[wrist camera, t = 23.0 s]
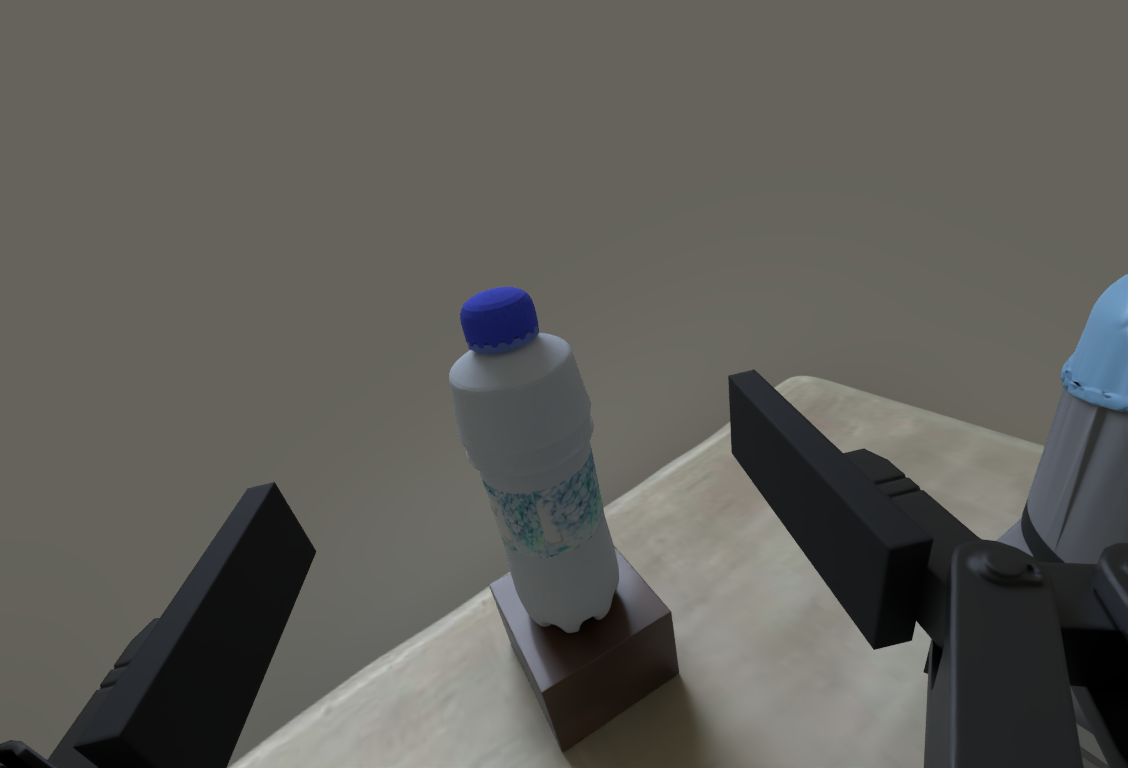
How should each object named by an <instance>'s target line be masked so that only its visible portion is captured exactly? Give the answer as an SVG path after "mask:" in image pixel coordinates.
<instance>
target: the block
mask: <svg viewBox="0 0 1128 768" xmlns="http://www.w3.org/2000/svg"><path fill="white" fill-rule="evenodd" d="M614 548H615V553H616V557H617V562H618V568H619V582H618V586H617V589H616V590H615V592H614V595H613V598H612V602H611V607H610V609H609V612H608V613H607V614H606V616H605V617H604V618H602V619H601V620H597V619H595V618H594V617H593V616H592V617H591V618H589V619H587V620H585V621H583V622H582V623H581V625H580V629H579V631H578V632H573V633H567V632H565V631H564V630H563V629H562V628H560V627H559V626H557V625H554V624H551V625H550V626H546V627H543V626H540V625H539V624H537V623H536V622H535V621H534V620H533V619H532V618H531V617H530V616H529V614H528V613H527V611H526V610H525V608H524V606H523V604H522V602H521V601H520V599H519V597H518V594H517V592H516V590H515V587H514V583H513V580H512V576H511V573H510V574H508V575H506V576H504V577H502V578H501V579H499V580H497V581H495V582H493V583H491V584H489V586H490V589H491V592H492V594H493V597H494V600H495V602H496V605H497V608H498V610H499V613H500V616H501V618H502V621H503V624H504V626H505V629H506V632H507V634H508V637H509V640H510V642H511V644H512V646H513V648H514V651H515V653H516V655H517V657H518V659H519V661H520V663H521V666H522V668H523V670H524V672H525V674H526V676H527V678H528V681H529V683H530V685H531V687H532V689H533V691H534V693H535V695H536V698H537V700H538V702H539V704H540V706H541V708H542V710H543V713H544V715H545V717H546V719H547V721H548V723H549V725H550V728H551V730H552V732H553V734H554V736H555V738H556V740H557V743H558V745H559V747H560V749H561V751H562V752H564V751H566V750H567V749H569V748H570V747H572V746H573V745H575V744H576V743H577V742H579V741H580V740H582V739H583V738H585V737H586V736H588V735H589V734H591V733H592V732H594V731H595V730H597V729H598V728H599V727H601V726H602V725H604V724H605V723H607V722H608V721H610V720H611V719H613V718H614V717H616V716H617V715H619V714H620V713H621V712H623V711H624V710H626V709H627V708H629V707H630V706H632V705H633V704H635V703H636V702H638V701H639V700H640V699H642V698H643V697H645V696H646V695H648V694H649V693H651V692H652V691H654V690H655V689H657V688H658V687H660V686H661V685H662V684H664V683H665V682H667V681H668V680H670V679H671V678H673V677H674V676H676V675H677V674H679V668H678V660H677V653H676V645H675V638H674V630H673V622H672V615H671V611H670V610H669V609H668V608H667V606H666V605H665V604H664V603H663V602H662V601H661V599H660V598H659V597H658V596H657V595H656V594H655V593H654V591H653V590H652V589H651V588H650V587H649V586H648V584H647V583H646V582H645V581H644V580H643V579H642V577H641V576H640V575H639V574H638V573H637V572H636V571H635V569H634V568H633V567H632V566H631V565H630V564H629V562H628V561H627V560H626V559H625V558H624V557H623V555H622V554H621V553H620V552H619V551H618V550H617V549H616V547H615V546H614Z"/></svg>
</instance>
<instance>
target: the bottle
mask: <svg viewBox="0 0 1128 768" xmlns="http://www.w3.org/2000/svg"><path fill="white" fill-rule="evenodd" d="M460 316H461V317H460V319H461V325H462V328H463V331H464V335H465V338H466V342H467V343H468V347H469V349H470V351H468V352H467V353H466V354H464V355H463V356H462V357H461V358H460V359H459V360H458V361H456V363H455V364H454V365H453V367H452V368H451V371H450V374H449V382H450V388H451V393H452V399H453V405H454V410H455V416H456V421H457V429H458V436H459V439H460V441H461V442H462V444H463V445H464V446H465V448H466V455H467V458H468V460H469V462H470V463H471V464H472V465H473V466H474V467H475V468H476V469H477V470H478V471H480V475H481V477H482V481H483V484H484V487H485V489H486V492H487V495H488V498H489V501H490V504H491V507H492V510H493V513H494V516H495V519H496V522H497V525H498V528H499V531H500V534H501V537H502V540H503V543H504V546H505V550H506V554H507V559H508V563H509V567H510V572H511V576H512V580H513V583H514V587H515V590H516V592H517V594H518V597H519V599H520V601H521V602H522V604H523V606H524V608H525V610H526V611H527V613H528V614H529V616H530V617H531V618H532V619H533V620H534V621H535V622H536V623H537V624H539V625H540V626H543V627H546V626H550V625H551V624H554V625H557V626H559V627H560V628H562V629H563V630H564V631H565V632H567V633H573V632H578V631H579V629H580V625H581V623H582V622H583V621H585V620H587V619H589V618H591V617H592V616H593V617H594V618H595V619H597V620H601V619H602V618H604V617H605V616H606V614H607V613H608V612H609V609H610V607H611V602H612V598H613V595H614V592H615V590H616V589H617V586H618V582H619V568H618V562H617V557H616V553H615V548H614V545H613V542H612V538H611V535H610V532H609V529H608V525H607V522H606V519H605V515H604V511H603V504H602V499H601V494H600V489H599V484H598V479H597V474H596V469H595V465H594V459H593V455H592V449H591V445H590V439H591V436H592V433H593V420H592V417H591V416H590V409H591V402H590V398H589V396H588V394H587V392H586V389H585V386H584V384H583V381H582V378H581V375H580V372H579V369H578V366H577V363H576V360H575V358H574V355H573V352H572V349H571V347H570V346H569V344H568V343H567V342H566V341H565V340H563V339H562V338H559V337H557V336H554V335H550V334H544V333H539V328H538V321H537V316H536V311H535V307H534V304H533V301H532V299H531V298H530V296H529V295H528V294H527V293H526V292H525V291H523V290H521V289H518V288H514V287H500V288H494V289H490V290H486V291H483V292H481V293H478V294H476V295H475V296H473V297H471V298H470V299H469V300H468V301H467V302H466V303H464V305H463V307H462V309H461V313H460Z"/></svg>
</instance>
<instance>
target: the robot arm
mask: <svg viewBox="0 0 1128 768" xmlns="http://www.w3.org/2000/svg"><path fill="white" fill-rule="evenodd" d="M728 378H729V401H730V423H731V445H732V454H733V455H734V457H735V458H736V459H737V461H738V462H739V464H740V465H741V466H742V468H743V469H744V470H745V472H746V473H747V475H748V476H749V477H750V479H751V480H752V482H753V483H754V484H755V486H756V487H757V489H758V490H759V491H760V493H761V494H762V495H763V497H764V498H765V500H766V501H767V502H768V504H769V505H770V507H771V508H772V509H773V511H774V512H775V513H776V515H777V516H778V518H779V519H780V520H781V522H782V523H783V525H784V526H785V527H786V529H787V530H788V531H789V533H790V534H791V536H792V537H793V538H794V540H795V541H796V543H797V544H798V545H799V547H800V548H801V549H802V551H803V552H804V554H805V555H806V556H807V558H808V559H809V561H810V562H811V563H812V565H813V566H814V567H815V569H816V570H817V572H818V573H819V574H820V576H821V577H822V579H823V580H824V581H825V583H826V584H827V585H828V587H829V588H830V590H831V591H832V592H833V594H834V595H835V597H836V598H837V599H838V601H839V602H840V604H841V605H842V606H843V608H844V609H845V610H846V612H847V613H848V615H849V616H850V617H851V619H852V620H853V622H854V623H855V624H856V626H857V627H858V628H859V630H860V631H861V633H862V634H863V635H864V637H865V638H866V640H867V641H868V642H869V644H870V645H871V646H872V648H873V649H874V650H875V649H879V648H883V647H887V646H891V645H895V644H900V643H904V642H908V641H912V637H913V633H914V628H915V623H916V621H917V622H918V623H919V624H920V626H921V627H922V628H923V629H924V630H925V631H926V633H927V634H928V635H929V636H930V637H931V639H932V640H931V644H930V648H929V652H928V656H927V660H926V665H925V669H924V672H925V673H927V674H928V690H927V711H926V733H925V754H924V768H1128V274H1127V275H1125V276H1123V277H1122V278H1120V279H1119V280H1118V281H1116V282H1115V283H1114V284H1112V285H1111V286H1110V287H1109V288H1108V289H1107V290H1106V291H1105V292H1104V293H1103V294H1102V295H1101V296H1100V298H1099V299H1098V300H1097V302H1096V304H1095V305H1094V307H1093V309H1092V311H1091V314H1090V316H1089V319H1088V322H1087V324H1086V327H1085V329H1084V331H1083V334H1082V336H1081V338H1080V341H1079V343H1078V346H1077V348H1076V350H1075V353H1074V354H1073V355H1072V356H1071V357H1070V358H1069V359H1068V360H1067V361H1066V363H1065V364H1064V366H1063V369H1062V373H1061V380H1062V381H1063V390H1062V393H1061V397H1060V400H1059V403H1058V406H1057V409H1056V412H1055V416H1054V419H1053V422H1052V425H1051V428H1050V431H1049V435H1048V438H1047V441H1046V444H1045V447H1044V450H1043V454H1042V457H1041V460H1040V462H1039V465H1038V468H1037V471H1036V474H1035V477H1034V480H1033V483H1032V486H1031V489H1030V492H1029V495H1028V499H1027V502H1026V505H1025V508H1024V511H1023V514H1022V517H1021V519H1020V520H1019V521H1018V522H1017V523H1016V524H1015V525H1013V526H1012V527H1011V528H1010V529H1009V530H1008V531H1007V532H1006V533H1005V534H1004V535H1002V536H1001V537H1000V538H999V539H998V540H997V541H990V540H982V539H980V538H979V537H977V536H976V535H975V534H974V533H973V532H972V531H970V530H969V529H968V528H967V527H966V526H965V525H963V524H962V523H961V522H960V521H959V520H958V519H956V518H955V517H954V516H953V515H952V514H951V513H949V512H948V511H947V510H946V509H945V508H943V507H942V506H941V505H940V504H939V503H938V502H936V501H935V500H934V499H933V498H932V497H931V496H929V495H928V494H927V493H926V492H925V491H924V490H922V491H921V490H920V487H919V486H918V485H917V484H915V483H914V482H913V481H912V480H911V479H910V478H906V477H905V474H904V473H903V472H901V471H900V470H899V469H898V468H897V467H895V466H894V465H893V464H892V463H891V462H890V461H888V460H887V459H885V458H883V457H881V456H879V455H876V454H874V453H872V452H870V451H868V450H866V449H860V450H856V451H852V452H847V453H842V452H841V451H840V450H839V449H838V448H837V447H836V446H835V445H834V444H833V443H831V442H830V441H829V440H828V439H827V438H826V437H825V436H824V435H823V434H822V433H821V432H820V431H819V430H818V429H817V428H816V427H815V426H813V425H812V424H811V423H810V422H809V421H808V420H807V419H806V418H805V417H804V416H803V415H802V414H801V413H800V412H799V411H798V410H797V409H795V408H794V407H793V406H792V405H791V404H790V403H789V402H788V401H787V400H786V399H785V398H784V397H783V396H782V395H781V394H780V393H779V392H778V391H776V390H775V389H774V388H773V387H772V386H771V385H770V384H769V383H768V382H767V381H766V380H765V379H764V378H763V377H762V376H761V375H760V374H758V373H757V372H756V371H755V370H752V371H747V372H742V373H738V374H734V375H730V376H728ZM315 553H316V550H315V549H314V547H313V545H312V544H311V542H310V540H309V538H308V537H307V535H306V534H305V532H304V530H303V529H302V527H301V525H300V524H299V522H298V520H297V519H296V517H295V515H294V514H293V512H292V510H291V509H290V507H289V505H288V504H287V502H286V500H285V499H284V497H283V495H282V494H281V492H280V490H279V489H278V487H277V485H276V484H275V482H273V483H269V484H264V485H261V486H256V487H252V488H248V489H247V490H246V492H245V493H244V495H243V496H242V498H241V499H240V501H239V502H238V503H237V505H236V507H235V508H234V510H233V511H232V512H231V514H230V515H229V517H228V518H227V520H226V521H225V523H224V524H223V526H222V527H221V529H220V530H219V532H218V533H217V535H216V536H215V538H214V539H213V540H212V542H211V543H210V545H209V546H208V548H207V549H206V551H205V552H204V554H203V555H202V557H201V558H200V560H199V561H198V563H197V564H196V566H195V567H194V569H193V570H192V572H191V573H190V574H189V576H188V577H187V579H186V580H185V582H184V584H183V585H182V586H181V588H180V589H179V591H178V592H177V594H176V595H175V597H174V598H173V600H172V601H171V603H170V604H169V606H168V607H167V609H166V610H165V611H164V613H163V614H162V616H161V617H160V618H156V619H153V621H152V622H150V623H149V624H148V625H147V626H146V627H145V628H144V629H143V630H142V631H141V632H140V633H139V634H138V635H137V636H136V637H135V638H134V639H133V640H132V641H131V642H130V643H129V645H128V646H127V647H126V649H125V650H124V652H123V653H122V655H121V656H120V658H119V659H118V660H117V662H116V663H115V665H114V670H110V672H109V673H108V675H107V676H106V677H105V679H104V680H103V682H102V683H101V685H100V686H101V688H100V690H96V692H95V693H94V694H93V696H92V697H91V699H90V700H89V702H88V703H87V705H86V706H85V707H84V709H83V710H82V712H81V713H80V714H79V716H78V717H77V719H76V720H75V722H74V723H73V724H72V726H71V727H70V729H69V730H68V731H67V733H66V734H65V736H64V737H63V739H62V740H61V741H60V743H59V744H58V746H57V747H56V749H55V750H54V751H53V753H52V754H51V756H50V757H49V759H48V760H46V759H45V758H43V757H42V756H41V755H39V754H38V753H37V752H35V751H34V750H32V749H31V748H30V747H29V746H27V745H26V744H25V743H23V742H22V741H12V740H10V741H7V742H4V743H2V744H0V768H226V767H227V765H228V763H229V760H230V758H231V755H232V753H233V751H234V748H235V746H236V743H237V741H238V738H239V736H240V734H241V731H242V729H243V727H244V724H245V722H246V719H247V716H248V714H249V712H250V710H251V707H252V705H253V702H254V700H255V698H256V695H257V693H258V690H259V688H260V685H261V683H262V681H263V679H264V676H265V674H266V671H267V669H268V666H269V664H270V662H271V659H272V657H273V654H274V652H275V650H276V647H277V645H278V642H279V640H280V638H281V635H282V633H283V630H284V628H285V626H286V623H287V621H288V618H289V616H290V614H291V611H292V609H293V606H294V604H295V601H296V599H297V597H298V594H299V592H300V590H301V587H302V585H303V582H304V580H305V577H306V575H307V573H308V570H309V568H310V565H311V563H312V561H313V558H314V556H315Z"/></svg>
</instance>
